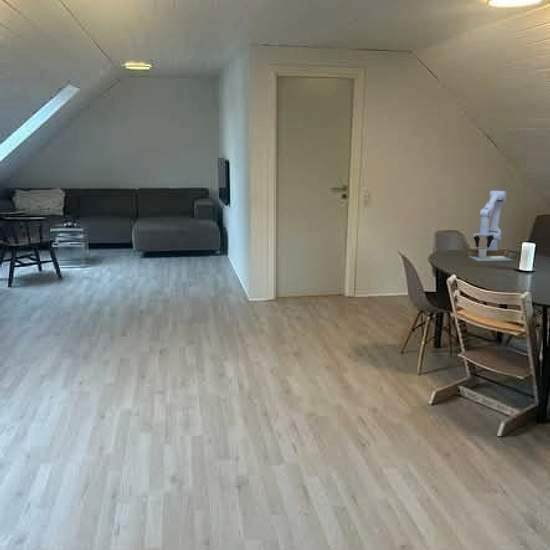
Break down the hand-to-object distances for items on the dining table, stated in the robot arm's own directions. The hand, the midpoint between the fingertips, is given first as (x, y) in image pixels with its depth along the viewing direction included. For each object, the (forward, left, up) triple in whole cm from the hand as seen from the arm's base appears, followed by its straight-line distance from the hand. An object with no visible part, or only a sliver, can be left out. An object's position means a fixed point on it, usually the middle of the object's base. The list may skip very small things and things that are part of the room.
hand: (482, 247), depth 377 cm
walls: (+1, +6, -8) cm, 10 cm away
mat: (+1, +6, -8) cm, 10 cm away
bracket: (+4, 0, -7) cm, 8 cm away
